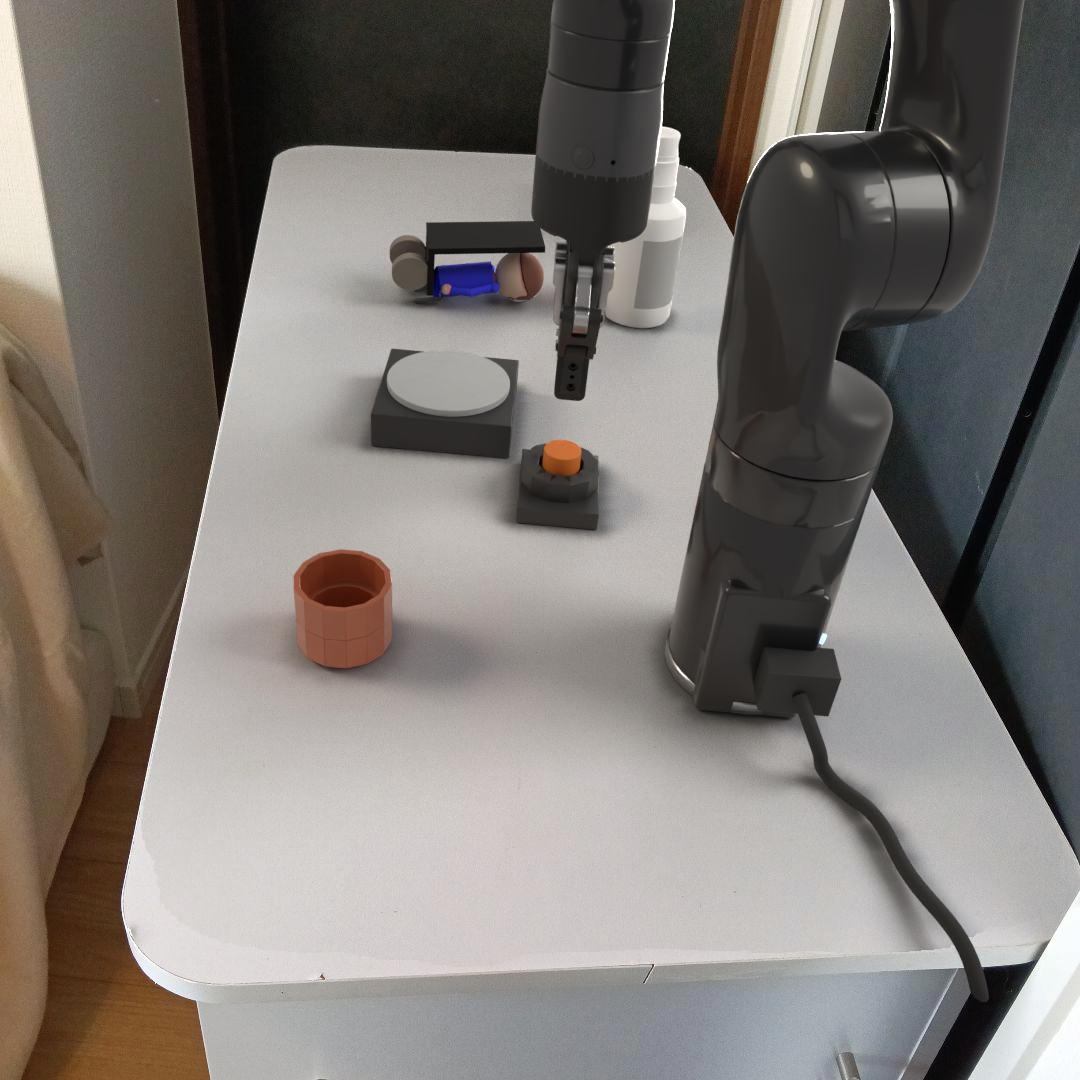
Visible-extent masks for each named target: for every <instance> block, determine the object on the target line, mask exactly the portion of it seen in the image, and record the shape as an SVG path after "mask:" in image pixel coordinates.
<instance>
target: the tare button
mask: <svg viewBox="0 0 1080 1080" xmlns="http://www.w3.org/2000/svg"><path fill="white" fill-rule="evenodd" d="M546 443H547V444H546V445H545V447H544V453H543V463H542V466H543V468H544V470H545V471H547V472H549V473H551V474H554V475H563V476H568V475H573V474H576V473H577V472H578V471H579V469H580V461H581V453H582V451H581V448H582V447H581V446H580V445H578V444H577V443H576V442H574V441H571V440H567V439H553V440H550V441H548V442H546ZM580 447H581V448H580Z"/></svg>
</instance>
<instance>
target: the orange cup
mask: <svg viewBox="0 0 1080 1080" xmlns="http://www.w3.org/2000/svg"><path fill="white" fill-rule="evenodd" d="M392 580H393V579H392V572H391V569H390V568H389V567H388V566H387V565H386V564H385V563H384V561H382V559H381V558H379V557H377V556H375V555H372V554H370V553H368V552H365V551H362V550H354V549H344V548H343V549H342V548H341V549H340V548H339V549H334V550H329V551H324V552H320V553H317V554H316V555H314V556H312V557H310V558H308V559H307V560H304V561H303V562H302V563H301V564H300V566H299V567H298V568H297V569H296V571H295V572H294V574H293V579H292V581H293V598H294V599H293V600H294V612H295V626H296V627H295V628H296V642H297V646H298V648H299V649H300V651H302V653H303V654H304V655H305V657H306V658H307V659H308V660H310V661H313V662H315V663H317V664H318V665H320V666H323V667H328V668H329V667H330V668H334V669H351V668H357V667H360V666H364V665H367V664H370V663H372V662H373V661H375V660H376V659H378V658H379V657H381V656H383V655H384V653H386V651H387V649H388V647H389V646H390V644H391V642H392V640H393V581H392Z"/></svg>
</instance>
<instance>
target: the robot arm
mask: <svg viewBox="0 0 1080 1080" xmlns="http://www.w3.org/2000/svg"><path fill="white" fill-rule="evenodd" d="M675 1H676V0H552V7H551V8H552V9H551V16H550V24H549V26H550V27H549V36H548V47H547V48H548V49H547V62H546V74H545V80H544V84H543V89H542V94H541V99H540V104H539V105H540V106H539V112H538V120H537V121H538V122H537V133H536V134H537V135H536V147H535V157H534V171H533V172H534V173H533V183H532V196H531V207H530V208H531V209H530V213H531V218H532V221H534V222H535V223H536V224H537V226H539V227H540V229H541V231H543V232H545V233H547V234H549V235H550V236H553V237H559V238H561V239H563V240H565V242H564V241H563V242H562V241H556V242H555V248H554V262H553V263H554V264H553V275H552V284H553V286H554V287H555V288H554V298H553V299H554V300H553V313H552V314H553V317H552V322H553V323H554V325H556V326H557V327H558V328H556V329H555V330H556V331H555V336H556V337H557V339H555V346H554V348H555V349H554V350H555V351H556V368H555V375H554V388H553V389H554V390H553V395H554V397H555V398H556V399H558V400H562V401H563V400H564V401H573V402H574V401H575V402H581V401H583V400H584V399H585V397H586V392H587V391H586V390H587V383H588V375H589V368H590V367H589V366H590V360H594V356H595V355H597V343H598V337H599V332H600V329H601V328H603V326H604V324H605V317H606V315H605V311H606V303H607V296H608V292H609V291H611V289H612V287H613V280H614V273H615V263H613V261H614V250H615V248H614V247H610V245H611V244H614V243H618V242H621V243H623V242H627V241H630V240H632V239H635V238H636V237H638V236H639V235H641V234H642V233H643V232H644V230H645V229H646V227H647V223H648V216H649V210H650V203H651V196H652V189H653V182H654V175H655V169H656V161H657V154H658V148H659V141H660V135H661V128H662V127H663V116H664V115H663V114H664V113H663V111H664V86H665V76H666V68H667V62H668V54H669V48H670V42H671V35H672V29H673V23H674V16H675V15H674V14H675ZM889 6H890V14H891V46H890V47H891V48H890V60H889V70H888V71H889V72H888V79H887V80H888V81H887V89H886V95H885V103H884V107H883V113H882V117H881V123H880V126H879V130H869V131H868V130H867V131H866V130H865V131H843V132H841V131H839V132H819V133H818V132H817V133H807V134H806V133H805V134H796V135H791V136H788V137H784V138H782V139H781V140H778V141H777V142H775V143H773V144H772V145H771V146H770V147H768V149H767V150H765V152H764V153H763V154H762V155H761V157H760V158H759V160H758V161H757V163H756V164H755V166H754V167H753V169H752V172H751V174H750V175H749V178H748V180H747V182H746V185H745V188H744V191H743V193H742V197H741V200H740V204H739V209H738V213H737V218H736V222H735V228H734V235H733V241H732V245H731V254H730V255H731V256H730V262H729V271H728V276H727V284H726V294H725V297H724V298H725V299H724V304H723V305H724V306H723V311H722V312H723V313H722V317H721V326H720V330H719V336H718V343H717V344H718V345H717V353H716V354H717V356H716V358H717V359H716V375H717V376H716V377H717V402H716V408H715V413H714V418H713V423H712V428H711V433H710V436H709V441H708V447H707V450H706V456H705V461H704V464H703V469H702V473H701V479H700V485H699V488H698V493H697V494H698V495H697V499H696V502H695V503H696V504H695V508H694V513H693V518H692V522H691V526H690V527H691V528H690V533H689V536H688V541H687V547H686V552H685V557H684V561H683V566H682V571H681V575H680V580H679V585H678V589H677V594H676V598H675V605H674V610H673V616H672V620H671V625H670V627H669V629H668V632H667V636H666V641H665V646H664V658H665V661H666V665H667V668H668V671H669V672H670V674H671V675H672V677H673V679H675V681H676V682H677V683H678V684H679V686H681V687H682V688H683V689H684V690H685V691H686V692H687V693H688V694H690V695H691V696H692V698H693V702H694V707H695V709H697V710H699V711H708V712H719V713H729V714H730V713H731V714H739V715H748V716H749V715H750V716H751V715H752V716H765V717H778V718H790V719H793V718H795V717H796V716H797V715H798V718H799V720H800V724H801V726H802V729H803V731H804V735H805V737H806V741H807V744H808V746H809V748H810V752H811V754H812V759H813V767H814V770H815V772H816V773H817V775H818V776H819V778H820V779H821V781H822V782H823V783H824V784H825V785H826V786H827V787H828V789H830V790H831V791H832V792H833V793H834V794H835V795H837V796H838V797H839V798H840V799H842V800H843V801H844V802H846V803H847V804H849V805H850V806H852V807H853V808H854V809H855V810H857V811H858V812H859V813H860V814H861V815H863V816H864V818H865V819H866V820H867V821H868V822H869V823H870V824H871V826H872V827H873V829H874V830H875V832H876V833H877V835H878V836H879V838H880V840H881V842H882V843H883V846H884V847H885V850H886V852H887V854H888V856H889V858H890V860H891V862H892V864H893V866H894V867H895V869H896V871H897V872H898V874H899V876H900V877H901V879H902V880H903V881H904V883H905V885H906V886H907V887H908V889H909V890H910V891H911V893H912V894H913V895H914V896H915V898H916V899H917V900H918V902H920V904H921V905H922V906H923V907H924V908H925V909H926V911H927V912H928V913H929V914H930V915H931V916H932V917H933V919H934V920H935V921H936V922H937V924H938V925H939V926H940V927H941V928H942V930H943V931H944V933H945V934H946V935H947V937H948V938H949V940H950V941H951V943H952V945H953V946H954V948H955V950H956V952H957V954H958V956H959V958H960V961H961V963H962V966H963V970H964V972H965V975H966V979H967V983H968V988H969V992H970V994H971V995H972V996H973V998H974V999H976V1000H977V1001H979V1002H981V1003H987V1002H988V1000H989V998H990V995H989V989H988V984H987V980H986V977H985V976H986V975H985V972H984V969H983V966H982V964H981V961H980V958H979V955H978V953H977V951H976V949H975V946H974V944H973V942H972V940H971V939H970V937H969V936H968V934H967V932H966V931H965V928H963V926H962V924H960V922H959V920H958V919H957V918H956V917H955V915H954V914H953V912H951V910H949V908H948V907H947V906H946V905H945V904H944V902H943V901H942V900H941V899H940V898H939V897H938V895H936V894H935V892H934V891H933V890H932V889H931V888H930V886H929V885H928V884H927V883H926V882H925V881H924V880H923V878H922V877H921V876H920V874H919V873H918V872H917V870H916V868H915V867H914V866H913V864H912V863H911V861H910V859H909V857H908V855H907V854H906V853H905V850H904V848H903V846H902V844H901V842H900V840H899V838H898V836H897V834H896V832H895V830H894V829H893V827H892V826H891V824H890V822H889V821H888V818H886V816H885V815H884V814H883V812H882V811H881V810H880V808H878V807H877V806H876V805H875V803H873V802H872V801H871V800H870V799H868V798H867V797H866V796H865V795H863V794H862V793H860V792H859V791H858V790H856V789H855V788H853V787H852V786H851V785H850V784H848V783H847V782H845V781H844V780H843V779H842V778H841V777H840V776H839V775H838V774H837V773H836V772H835V770H834V769H833V768H832V766H831V765H830V762H829V756H828V749H827V746H826V743H825V741H824V739H823V735H822V733H821V730H820V727H819V725H818V721H817V718H816V716H817V717H826V718H827V717H829V716H830V713H831V710H832V707H833V704H834V702H835V698H836V696H837V693H838V690H839V687H840V684H841V682H842V676H841V672H840V668H839V664H838V659H837V657H836V653H835V649H834V648H830V647H829V648H828V647H822V645H824V643H825V641H826V639H827V638H828V635H827V633H826V631H827V628H828V626H829V622H830V619H831V615H832V613H833V610H834V606H835V603H836V601H837V597H838V593H839V590H840V588H841V585H842V582H843V579H844V576H845V572H846V569H847V566H848V563H849V560H850V557H851V553H852V551H853V547H854V544H855V542H856V538H857V535H858V532H859V530H860V526H861V523H862V520H863V516H864V514H865V511H866V507H867V505H868V503H869V499H870V497H871V493H872V491H873V486H874V484H875V481H876V478H877V474H878V471H879V469H880V464H881V462H882V459H883V456H884V453H885V450H886V447H887V444H888V440H889V438H890V434H891V431H892V427H893V421H894V412H893V407H892V403H891V401H890V399H889V396H888V395H887V394H886V393H885V391H884V390H883V389H882V388H881V386H879V385H878V383H876V382H875V381H874V380H873V379H871V378H870V377H868V376H867V375H866V374H864V373H863V372H861V371H860V370H858V369H857V368H854V367H852V366H851V365H848V364H847V363H844V362H842V361H840V360H837V359H836V357H837V351H838V347H839V342H840V339H841V334H842V333H843V332H851V331H852V332H853V331H859V330H867V329H868V330H869V329H870V330H871V329H877V328H886V327H887V328H888V327H896V326H906V325H912V324H920V323H923V322H928V321H932V320H935V319H937V318H940V317H943V316H945V315H946V314H948V313H949V312H951V311H952V310H953V309H955V307H957V306H958V305H959V304H961V302H962V301H963V300H964V299H965V298H966V297H967V295H968V294H969V292H970V290H971V289H972V287H973V285H974V284H975V282H976V280H977V279H978V276H979V275H980V272H981V270H982V267H983V264H984V262H985V260H986V256H987V254H988V251H989V248H990V243H991V239H992V235H993V230H994V227H995V223H996V216H997V211H998V203H999V199H1000V192H1001V184H1002V178H1003V177H1002V176H1003V169H1004V161H1005V153H1006V145H1007V136H1008V128H1009V121H1010V120H1009V119H1010V112H1011V111H1010V110H1011V103H1012V95H1013V87H1014V79H1015V71H1016V64H1017V54H1018V47H1019V40H1020V33H1021V26H1022V19H1023V12H1024V6H1025V0H889Z"/></svg>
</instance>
